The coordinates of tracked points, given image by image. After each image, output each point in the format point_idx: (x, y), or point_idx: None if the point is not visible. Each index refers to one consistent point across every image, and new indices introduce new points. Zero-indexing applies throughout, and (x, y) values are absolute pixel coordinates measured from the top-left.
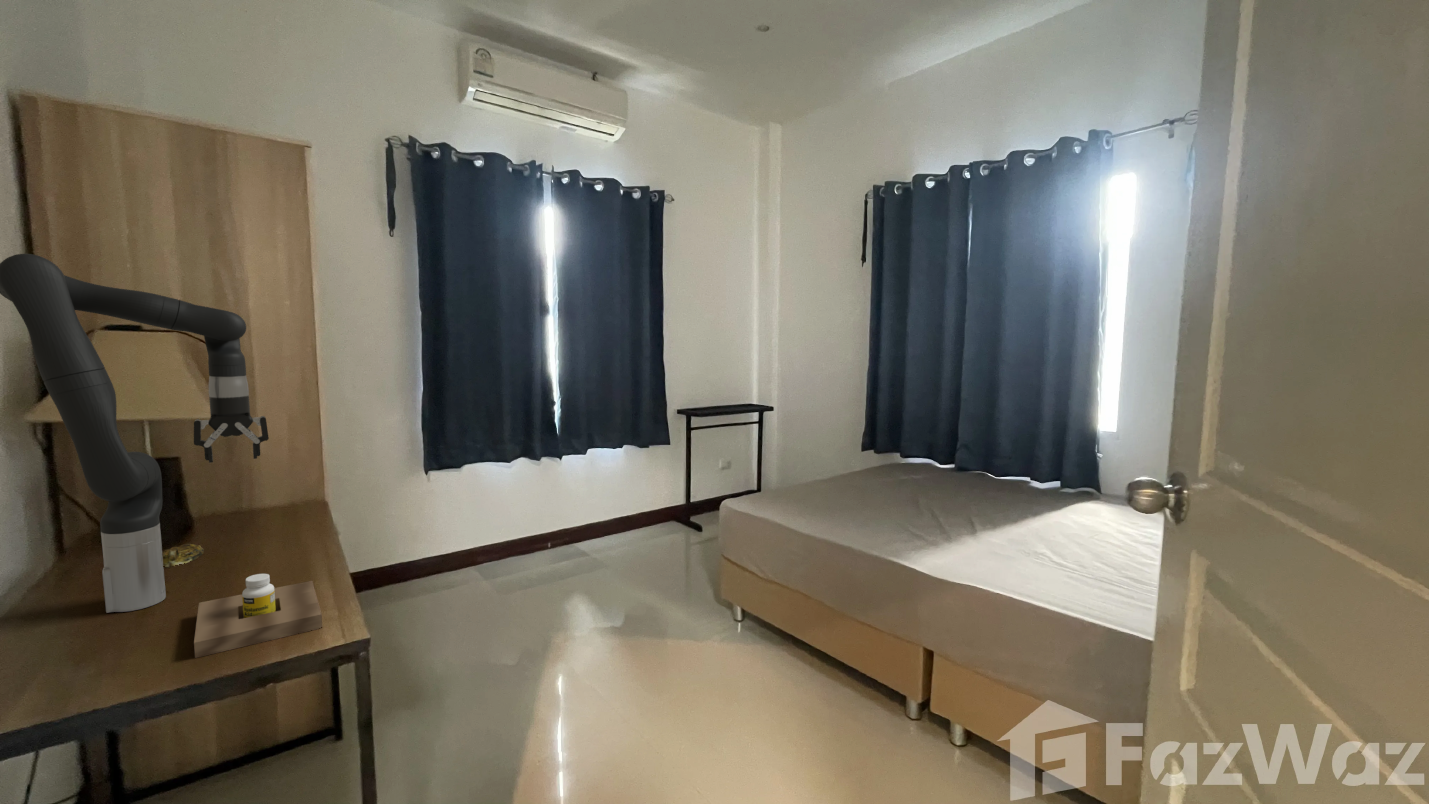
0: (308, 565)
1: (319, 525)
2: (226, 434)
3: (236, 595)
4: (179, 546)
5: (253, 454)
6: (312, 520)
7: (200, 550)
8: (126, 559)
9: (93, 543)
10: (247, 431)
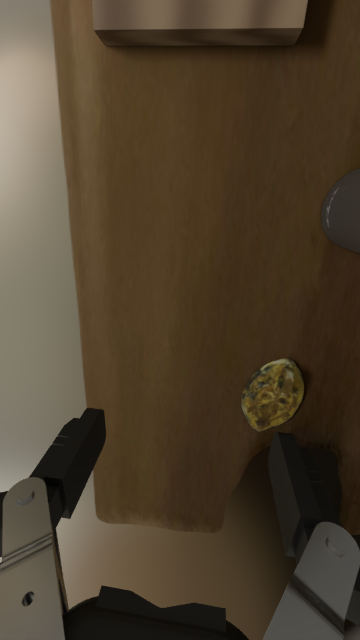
0: (110, 231)
1: None
2: (202, 634)
3: (234, 27)
4: (269, 425)
5: (92, 424)
6: None
7: (246, 394)
8: None
9: (348, 505)
10: (13, 617)
